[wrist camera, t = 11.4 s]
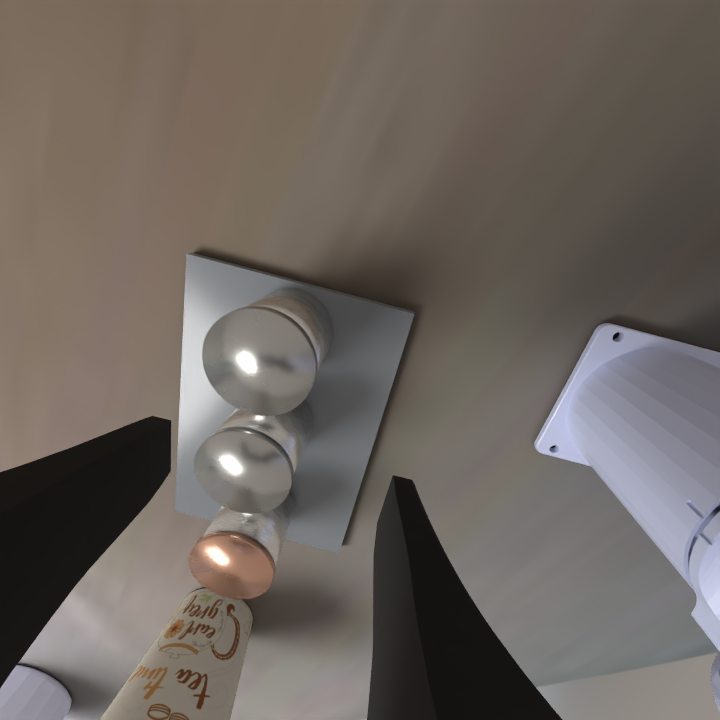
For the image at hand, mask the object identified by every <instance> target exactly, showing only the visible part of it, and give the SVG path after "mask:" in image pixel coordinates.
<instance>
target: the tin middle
mask: <svg viewBox="0 0 720 720" xmlns="http://www.w3.org/2000/svg"><path fill="white" fill-rule="evenodd" d="M312 428H313V414H312V411H311V409H310V406H309V405H308V403H307V402H306V400H304V401H303V402H302V403H301V404H300V405H298V406H297V407H296V408H294V409H293V410H291V411H289V412H286V413H283V414H280V415H274V416H259V415H254V414H250V413H247V412H244V411H241V410H239V409H237V408H236V409H235V410H234V411H233V413H232V414H231V415H230V416H229V417H228V418H227V419H226V421H225V422H224V423H223V424H222V425H221V426H220V428H219V429H218V430H217V431H216V432H214V433H213V434H211V435H210V436H209V437H208V438H207V439H206V440H205V441H204V442H203V444H202V445H201V446H200V447H199V449H198V450H197V452H196V455H195V458H194V472H195V476H196V479H197V481H198V483H199V485H200V486H201V488H202V489H203V490H204V492H205V493H206V494H207V495H208V496H209V497H210V498H211V499H213V500H214V501H215V502H217V503H218V504H220V505H222V506H223V507H226V508H228V509H230V510H233V511H236V512H241V513H247V514H256V513H263V512H267V511H270V510H272V509H274V508H276V507H278V506H279V505H280V504H281V503H282V502H283V501H284V500H285V499H286V497H287V495H288V493H289V491H290V488H291V486H292V483H293V478H294V473H295V470H296V468H297V466H298V463H299V461H300V458H301V456H302V453H303V451H304V448H305V446H306V443H307V441H308V438H309V436H310V434H311V431H312Z"/></svg>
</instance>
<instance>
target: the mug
mask: <svg viewBox="0 0 720 720" xmlns="http://www.w3.org/2000/svg"><path fill="white" fill-rule="evenodd" d="M252 621H253V617H252V613H251V610H250V608H249V607H248V606H247V604H246V603H245V602H244V601H243V600H241V599H231V598H227V597H223V596H220V595H218V594H215V593H213V592H211V591H210V590H208V589H207V588H204V589H199V590H196V591H194V592H192V593H190V594H189V595H188V596H187V597H186V598H185V600H184V601H183V602H182V604H181V605H180V606H179V608H178V609H177V611H176V612H175V614H174V615H173V616H172V618H171V619H170V621H169V622H168V623H167V625H166V626H165V628H164V629H163V631H162V632H161V633H160V635H159V636H158V638H157V639H156V641H155V642H154V643H153V645H152V646H151V648H150V649H149V650H148V652H147V653H146V655H145V656H144V658H143V659H142V660H141V662H140V663H139V665H138V666H137V667H136V669H135V670H134V672H133V673H132V675H131V676H130V677H129V679H128V680H127V682H126V683H125V684H124V686H123V687H122V689H121V690H120V692H119V693H118V694H117V696H116V697H115V699H114V700H113V702H112V703H111V704H110V706H109V707H108V709H107V710H106V711H105V713H104V714H103V716H102V717H101V719H100V720H230V717H231V713H232V708H233V704H234V700H235V696H236V691H237V687H238V683H239V679H240V674H241V670H242V666H243V661H244V657H245V653H246V649H247V644H248V640H249V636H250V632H251V627H252Z"/></svg>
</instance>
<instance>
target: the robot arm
mask: <svg viewBox="0 0 720 720" xmlns="http://www.w3.org/2000/svg"><path fill="white" fill-rule="evenodd" d="M617 332H619V336H618V337H617V338H616V339H613V335H614V334H615V333H617ZM534 445H535V448H536V449H537V450H538V452H540V453H542V454H546V455H550V456H554V457H558V458H561V459H565V460H569V461H573V462H577V463H580V464H584V465H588V466H592V467H593V469H594V470H595V471H596V472H597V473H598V475H599V476H600V477H601V478H602V480H603V481H604V482H605V483H606V484H607V486H608V487H609V488H610V489H611V490H612V492H613V493H614V494H615V495H616V497H617V498H618V499H619V500H620V501H621V503H622V504H623V505H624V506H625V507H626V509H627V510H628V511H629V512H630V514H631V515H632V516H633V517H634V518H635V520H636V521H637V522H638V523H639V524H640V526H641V527H642V528H643V529H644V531H645V532H646V533H647V534H648V535H649V537H650V538H651V539H652V540H653V541H654V543H655V544H656V545H657V546H658V548H659V549H660V550H661V551H662V552H663V554H664V555H665V556H666V557H667V558H668V560H669V561H670V562H671V563H672V564H673V566H674V567H675V568H676V569H677V571H678V572H679V573H680V574H681V575H682V577H683V578H684V579H685V580H686V581H687V583H688V584H689V585H690V586H691V588H692V589H693V590H694V591H695V593H696V595H697V603H696V606H695V608H694V609H693V611H692V614H691V615H692V616H693V617H694V619H695V620H696V621H697V623H698V624H699V625H700V627H701V628H702V629H703V630H704V632H705V633H706V634H707V636H708V637H709V638H710V640H711V641H712V642H713V644H714V645H715V646H716V647H717V649H718V650H719V651H720V352H717V351H713V350H709V349H705V348H702V347H698V346H694V345H690V344H687V343H683V342H679V341H675V340H672V339H668V338H664V337H660V336H656V335H653V334H649V333H645V332H641V331H638V330H634V329H630V328H626V327H623V326H619V325H615V324H611V323H603V324H601V325H599V326H598V327H597V328H596V329H595V331H594V333H593V335H592V337H591V338H590V340H589V342H588V344H587V346H586V348H585V350H584V351H583V353H582V355H581V357H580V359H579V361H578V363H577V364H576V366H575V368H574V370H573V372H572V374H571V376H570V377H569V379H568V381H567V383H566V385H565V387H564V389H563V390H562V392H561V394H560V396H559V398H558V400H557V402H556V403H555V405H554V407H553V409H552V411H551V413H550V415H549V416H548V418H547V420H546V422H545V424H544V426H543V428H542V429H541V431H540V433H539V435H538V437H537V439H536V441H535V443H534ZM553 445H556V446H555V447H554V448H552V449H550V447H551V446H553ZM170 471H171V420H167V419H163V418H159V417H154V416H151V417H148V418H145V419H142V420H140V421H137V422H135V423H132V424H129V425H127V426H124V427H122V428H119V429H117V430H115V431H112V432H110V433H107V434H105V435H102V436H99V437H97V438H94V439H92V440H89V441H87V442H84V443H82V444H79V445H77V446H74V447H72V448H69V449H66V450H63V451H60V452H58V453H55V454H52V455H49V456H47V457H44V458H41V459H38V460H36V461H33V462H30V463H27V464H24V465H21V466H18V467H15V468H12V469H9V470H6V471H3V472H0V688H1V687H2V685H3V684H4V682H5V681H6V679H7V678H8V677H9V675H10V674H11V672H12V671H13V669H14V668H15V666H16V665H17V664H18V662H19V661H20V660H21V658H22V657H23V655H24V654H25V653H26V651H27V650H28V648H29V647H30V646H31V644H32V643H33V642H34V640H35V639H36V637H37V636H38V635H39V633H40V632H41V631H42V629H43V628H44V626H45V625H46V624H47V622H48V621H49V620H50V618H51V617H52V616H53V614H54V613H55V612H56V610H57V609H58V608H59V606H60V605H61V604H62V603H63V601H64V600H65V599H66V597H67V596H68V595H69V593H70V592H71V591H72V589H73V588H74V587H75V585H76V584H77V583H78V582H79V581H80V579H81V578H82V577H83V576H84V575H85V573H86V572H87V571H88V570H89V569H90V567H91V566H92V565H93V564H94V563H95V562H96V561H97V560H98V559H99V557H100V556H101V555H102V554H103V553H104V552H105V551H106V550H107V549H108V547H109V546H110V545H111V544H112V543H113V542H114V541H115V540H116V538H117V537H118V536H119V535H120V534H121V533H122V532H123V531H124V530H125V528H126V527H127V526H128V525H129V524H130V523H131V522H132V521H133V519H134V518H135V517H136V516H137V515H138V514H139V513H140V512H141V510H142V509H143V508H144V507H145V506H146V505H147V504H148V502H149V501H150V500H151V499H152V497H153V496H154V494H155V493H156V492H157V490H158V489H159V488H160V486H161V485H162V483H163V482H164V480H165V479H166V477H167V476H168V474H169V473H170ZM711 685H712V689H713V695H714V699H715V702H716V705H717V707H718V710H719V713H720V652H719V653H718V654H717V656H716V657H715V660H714V662H713V664H712V668H711ZM367 720H562V719H561V718H560V716H559V715H558V714H557V713H556V712H555V711H554V710H553V708H552V707H551V706H550V705H549V703H548V702H547V701H546V700H545V698H544V697H543V696H542V695H541V693H540V692H539V691H538V690H537V689H536V687H535V686H534V685H533V684H532V682H531V681H530V680H529V679H528V677H527V676H526V675H525V674H524V672H523V671H522V670H521V668H520V667H519V666H518V664H517V663H516V662H515V660H514V659H513V658H512V656H511V655H510V654H509V652H508V651H507V649H506V648H505V647H504V645H503V644H502V643H501V641H500V640H499V639H498V637H497V636H496V635H495V633H494V632H493V631H492V629H491V628H490V626H489V625H488V623H487V622H486V620H485V619H484V617H483V616H482V614H481V613H480V611H479V610H478V608H477V607H476V605H475V603H474V602H473V600H472V599H471V597H470V596H469V594H468V592H467V591H466V589H465V587H464V586H463V584H462V582H461V580H460V579H459V577H458V575H457V574H456V572H455V570H454V568H453V566H452V564H451V563H450V561H449V559H448V557H447V555H446V553H445V551H444V549H443V547H442V546H441V543H440V541H439V539H438V537H437V535H436V533H435V531H434V529H433V527H432V525H431V523H430V520H429V518H428V516H427V514H426V511H425V509H424V507H423V504H422V502H421V500H420V497H419V495H418V492H417V490H416V487H415V485H414V483H413V481H412V480H410V479H406V478H402V477H398V476H394V475H393V477H392V480H391V483H390V486H389V489H388V492H387V495H386V498H385V501H384V504H383V507H382V510H381V513H380V516H379V519H378V522H377V530H376V539H375V548H374V579H373V658H372V670H371V682H370V694H369V706H368V716H367Z"/></svg>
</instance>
